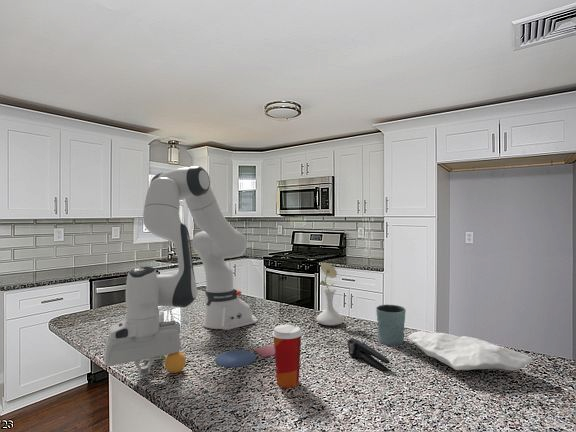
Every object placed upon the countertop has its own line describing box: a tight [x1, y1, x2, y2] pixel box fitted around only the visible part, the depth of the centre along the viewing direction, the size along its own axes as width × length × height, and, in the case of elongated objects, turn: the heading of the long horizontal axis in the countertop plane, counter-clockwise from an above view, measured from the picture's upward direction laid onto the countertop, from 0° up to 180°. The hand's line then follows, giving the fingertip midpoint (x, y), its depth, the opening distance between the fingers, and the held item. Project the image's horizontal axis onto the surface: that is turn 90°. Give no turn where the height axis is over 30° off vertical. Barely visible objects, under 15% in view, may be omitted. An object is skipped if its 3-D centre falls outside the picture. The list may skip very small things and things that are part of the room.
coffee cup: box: [271, 324, 303, 389], centre depth 102 cm, size 8×8×15 cm
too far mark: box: [253, 344, 275, 358], centre depth 126 cm, size 8×8×1 cm
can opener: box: [347, 337, 391, 373], centre depth 116 cm, size 18×7×6 cm, turn 27°
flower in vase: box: [315, 262, 345, 326], centre depth 155 cm, size 13×11×25 cm
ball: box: [164, 351, 187, 374], centre depth 110 cm, size 6×6×6 cm
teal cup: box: [375, 304, 406, 347], centre depth 133 cm, size 10×10×12 cm
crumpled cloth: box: [406, 330, 533, 372], centre depth 112 cm, size 24×35×9 cm
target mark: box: [214, 349, 257, 368], centre depth 120 cm, size 13×13×1 cm
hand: (144, 373), depth 106 cm, fingers closed
